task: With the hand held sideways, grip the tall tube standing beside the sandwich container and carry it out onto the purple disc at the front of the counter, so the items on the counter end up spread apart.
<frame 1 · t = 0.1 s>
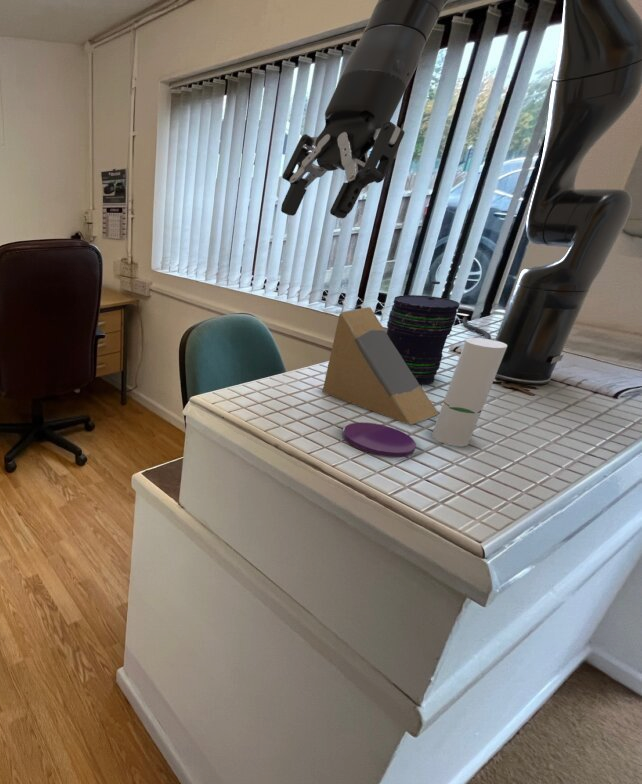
hand: (310, 215, 61), 31 cm above the worktop, tool tilted 20°, fingers open, 8 cm apart
sandwich container: (377, 403, 80), on the worktop
tube: (449, 440, 68), on the worktop
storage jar: (402, 376, 90), on the worktop
purple disc: (377, 441, 68), on the worktop
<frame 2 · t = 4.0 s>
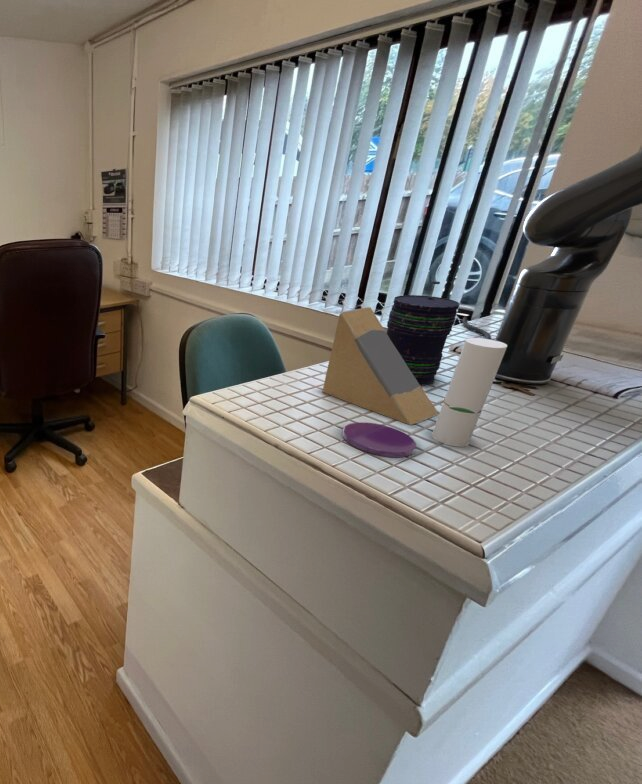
nothing on the worktop moved.
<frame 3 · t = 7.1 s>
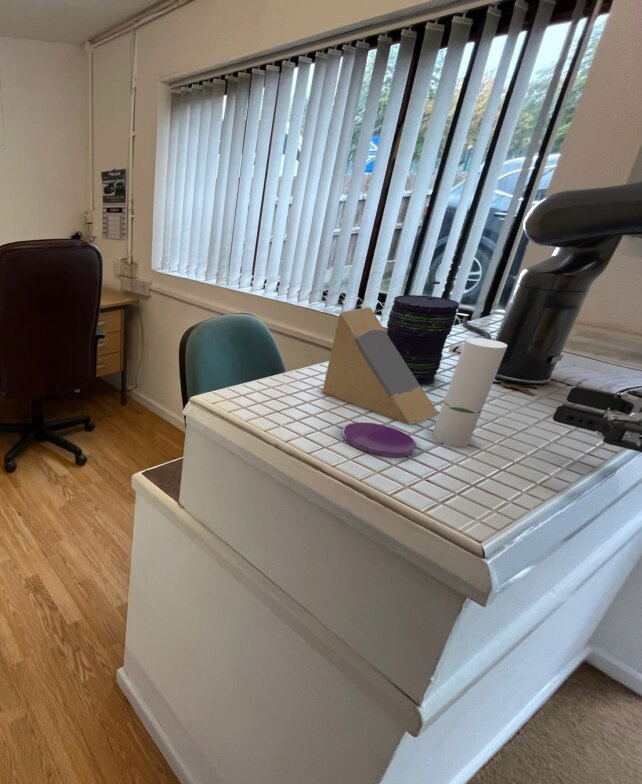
hand: (562, 402, 58), 9 cm above the worktop, tool horizontal, fingers open, 8 cm apart
nothing on the worktop moved.
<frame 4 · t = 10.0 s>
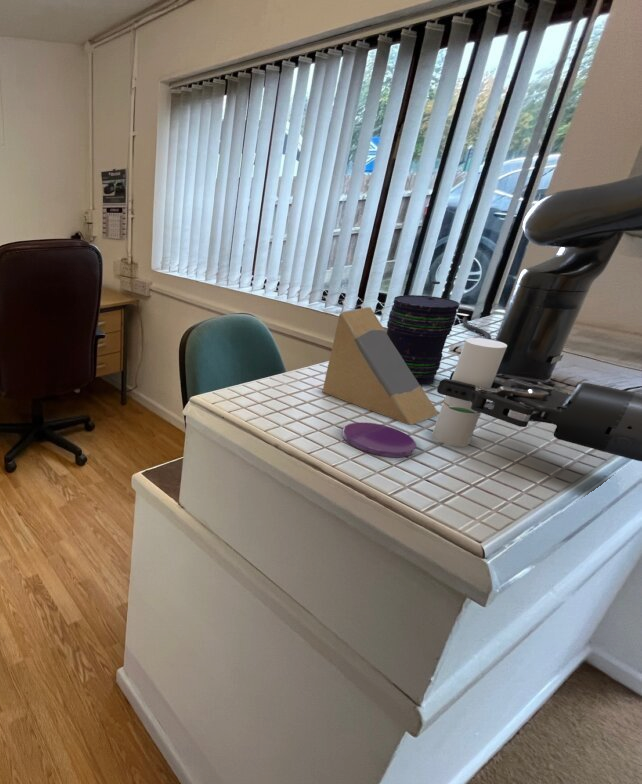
hand: (445, 381, 67), 8 cm above the worktop, tool horizontal, fingers closed on tube, 4 cm apart
tube: (449, 440, 68), on the worktop, touching gripper
everything else where it was.
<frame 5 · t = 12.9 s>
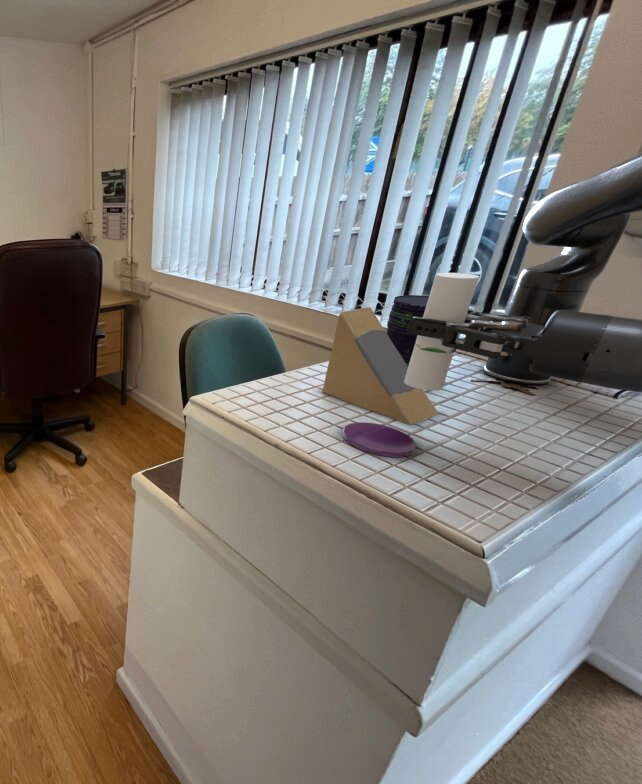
hand: (416, 321, 63), 18 cm above the worktop, tool horizontal, fingers closed on tube, 4 cm apart
tube: (422, 385, 64), point 9 cm above the worktop, touching gripper
everything else where it was.
when the fingers open (9 cm above the worktop, at t = 16.0 s): tube stays where it is, resting on purple disc.
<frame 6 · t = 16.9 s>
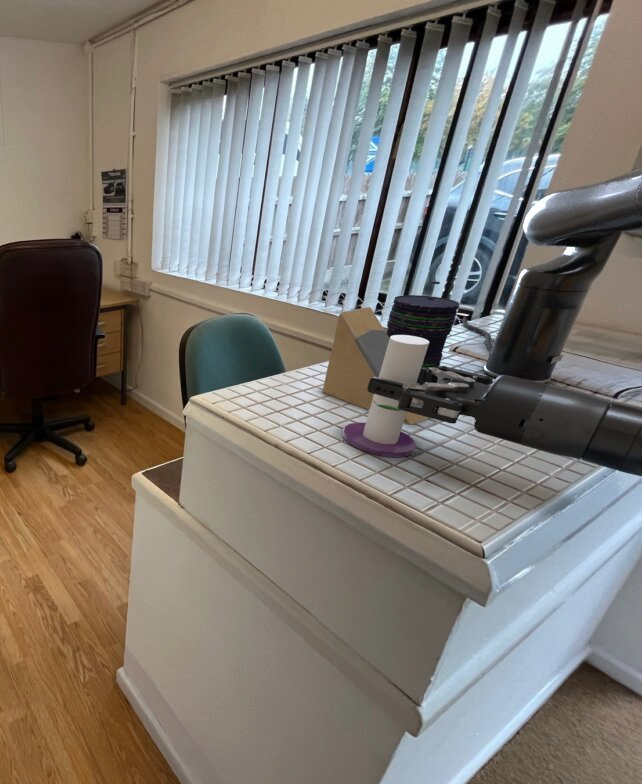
hand: (382, 376, 65), 10 cm above the worktop, tool horizontal, fingers open, 8 cm apart
tube: (379, 438, 68), point 1 cm above the worktop, touching purple disc
everything else where it was.
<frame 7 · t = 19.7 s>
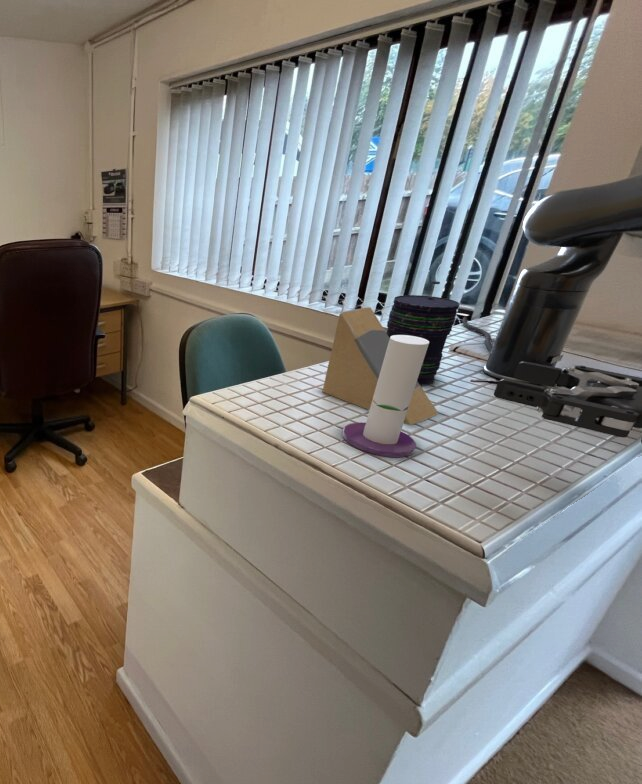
hand: (506, 378, 55), 13 cm above the worktop, tool horizontal, fingers open, 8 cm apart
nothing on the worktop moved.
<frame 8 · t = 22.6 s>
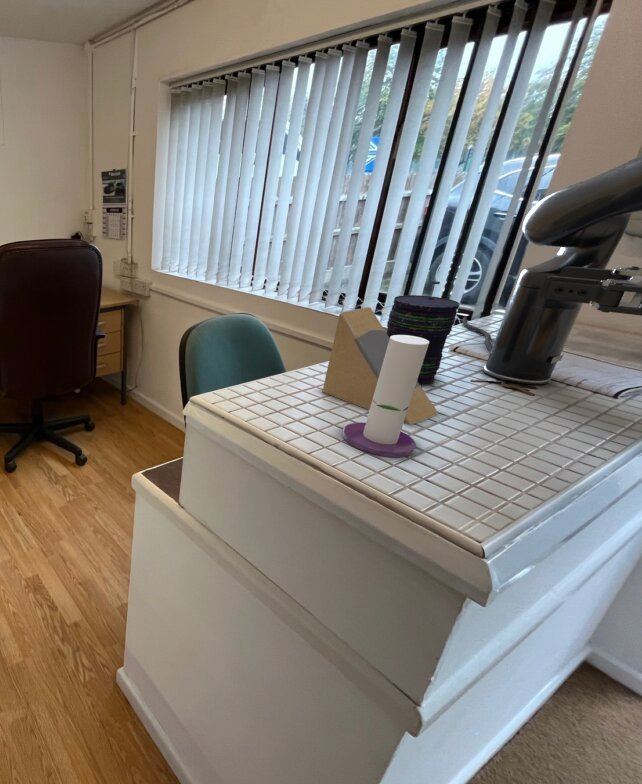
hand: (551, 281, 50), 25 cm above the worktop, tool horizontal, fingers open, 8 cm apart
nothing on the worktop moved.
at the end: tube 0.2 cm off-centre on the purple disc, point 0.6 cm above the purple disc's base; tube tilted 0°; sandwich container moved 0.2 cm from its start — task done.
